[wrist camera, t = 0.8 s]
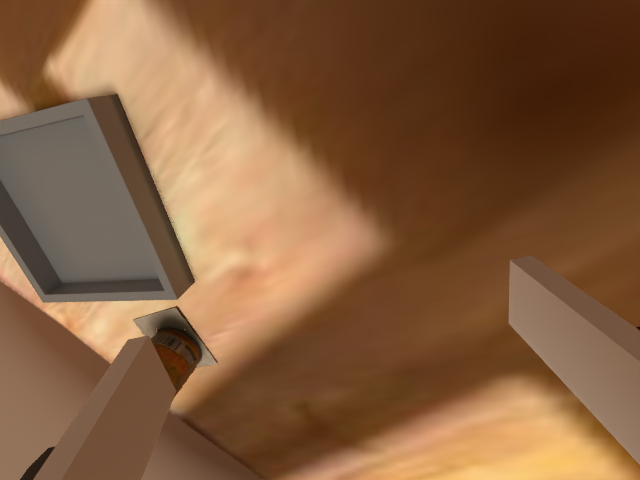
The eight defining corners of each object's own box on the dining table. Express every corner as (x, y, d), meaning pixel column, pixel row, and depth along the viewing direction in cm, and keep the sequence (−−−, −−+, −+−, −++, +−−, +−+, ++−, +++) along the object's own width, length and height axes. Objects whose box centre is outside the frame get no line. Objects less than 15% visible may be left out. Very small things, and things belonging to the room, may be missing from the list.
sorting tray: (-27, 131, 33) (-64, 137, 31) (117, 94, 28) (86, 98, 25) (66, 287, 41) (43, 302, 38) (194, 281, 35) (177, 299, 33)
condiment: (174, 371, 43) (98, 468, 33) (133, 318, 41) (37, 407, 30) (218, 362, 40) (150, 466, 30) (177, 305, 38) (87, 398, 27)
